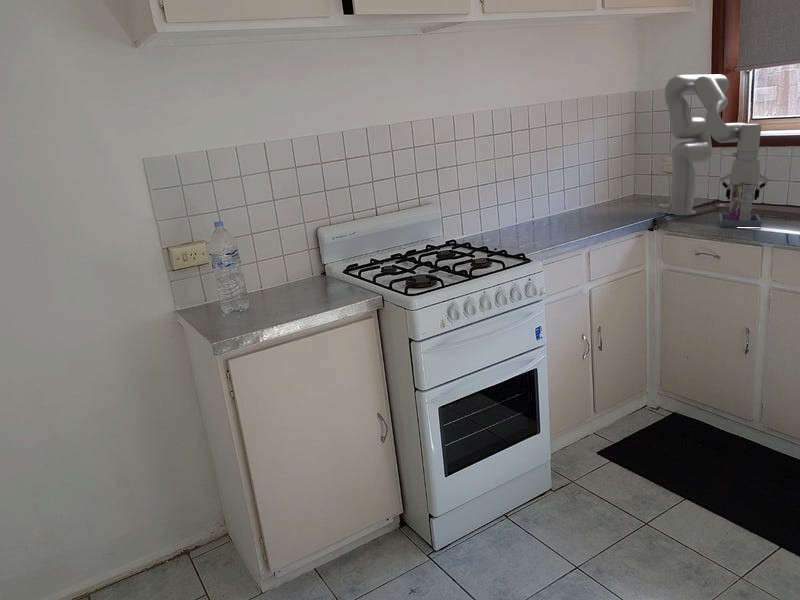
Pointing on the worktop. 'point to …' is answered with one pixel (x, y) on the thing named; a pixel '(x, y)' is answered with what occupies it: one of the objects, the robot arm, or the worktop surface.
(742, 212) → the candy bar box
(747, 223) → the tray
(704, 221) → the worktop surface
